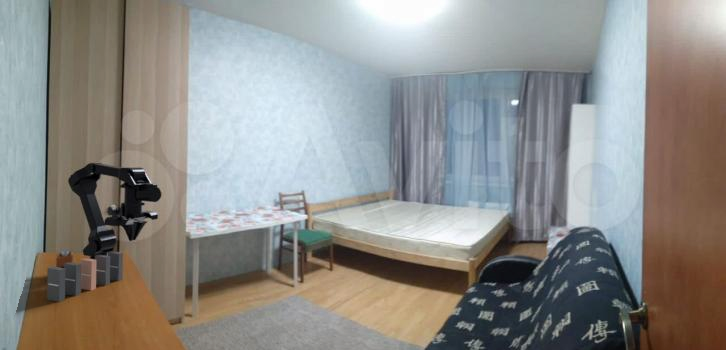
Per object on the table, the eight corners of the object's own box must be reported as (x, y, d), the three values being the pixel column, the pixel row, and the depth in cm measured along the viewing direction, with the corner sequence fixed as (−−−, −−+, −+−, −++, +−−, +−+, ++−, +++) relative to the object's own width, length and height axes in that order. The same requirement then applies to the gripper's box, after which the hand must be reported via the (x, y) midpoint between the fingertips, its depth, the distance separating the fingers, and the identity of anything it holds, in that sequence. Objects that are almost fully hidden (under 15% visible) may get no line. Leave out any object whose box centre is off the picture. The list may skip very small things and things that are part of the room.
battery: (55, 283, 123) (56, 255, 123) (57, 277, 128) (58, 250, 128) (72, 281, 126) (72, 253, 125) (73, 275, 131) (73, 249, 131)
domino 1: (52, 297, 111) (53, 266, 111) (64, 299, 110) (65, 268, 110) (46, 299, 110) (47, 267, 109) (59, 301, 109) (59, 269, 108)
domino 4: (98, 282, 126) (99, 254, 126) (109, 284, 125) (110, 256, 124) (94, 283, 124) (94, 255, 124) (105, 285, 123) (106, 257, 123)
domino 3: (84, 286, 121) (85, 258, 121) (95, 288, 120) (96, 259, 119) (79, 288, 120) (80, 259, 119) (91, 290, 118) (91, 261, 118)
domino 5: (111, 277, 131) (112, 251, 130) (122, 279, 130) (123, 252, 129) (107, 279, 129) (107, 252, 129) (118, 281, 128) (118, 253, 128)
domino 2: (69, 292, 116) (69, 262, 116) (80, 294, 115) (81, 263, 115) (63, 293, 115) (64, 263, 114) (75, 296, 113) (76, 265, 113)
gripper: (136, 196, 146) (136, 233, 147) (92, 201, 128) (91, 243, 128) (159, 198, 143) (158, 236, 144) (117, 203, 125) (116, 246, 126)
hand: (132, 240), depth 136 cm, fingers closed
